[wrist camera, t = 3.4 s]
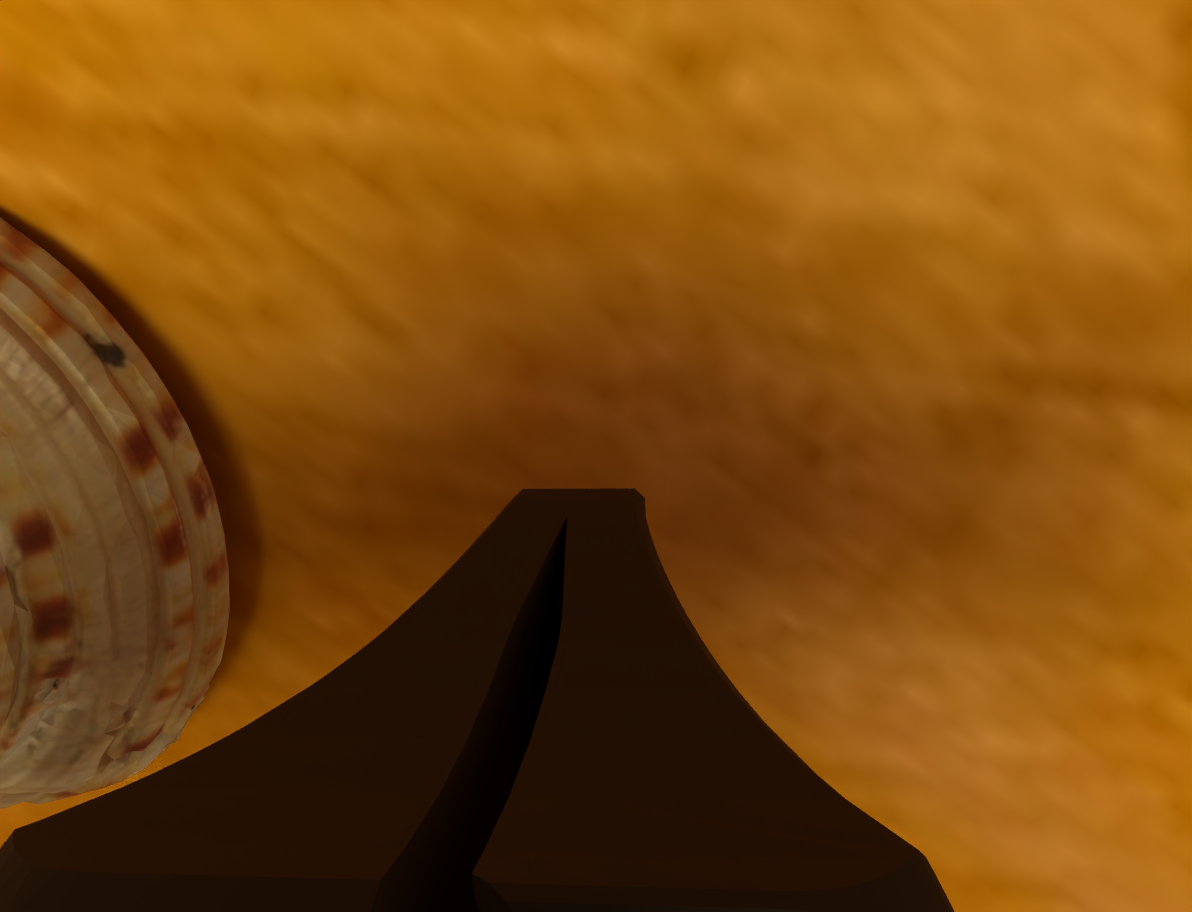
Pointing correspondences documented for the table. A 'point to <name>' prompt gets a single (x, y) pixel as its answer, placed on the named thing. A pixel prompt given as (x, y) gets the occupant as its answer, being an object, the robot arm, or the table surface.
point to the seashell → (95, 543)
